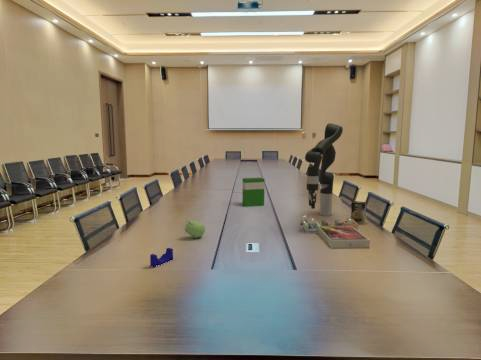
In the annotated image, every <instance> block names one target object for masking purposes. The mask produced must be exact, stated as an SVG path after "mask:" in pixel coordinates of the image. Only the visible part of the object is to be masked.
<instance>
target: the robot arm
mask: <svg viewBox="0 0 481 360" xmlns="http://www.w3.org/2000/svg"><path fill="white" fill-rule="evenodd" d="M343 130H344V129H343V127H342V126H341V125H338V124H335V123H331V122H330V123H329V122H328V123H327V124H326V126H325V129H324V138H323V139H321V140H320V141H319V142H317V144H316V145H315V146H314V147H312V148H311V149H309V150H308V151H307V152H306V154H305V157H304V159H305V161H306V162H307V163H310V164H313V165H311V166H308V167H307V173H306V174H307V176H306V190H307V191H308V194H307V198H308V206H309V207H310V209H312V210H314V209H315V208H316V203H317V193H316V191H318V190H319V184H320V185H327V186H325V187H322V188H321V189H320V194H319V215H320V216H323V217H324V216H325V217H329V216H332V215H333V214H332V213H333V192H334V191H333V190H334V186H333V185H334V173H333V172H330V171H329V172H326V171H327V170H328V169H329V168H330V167H331V166H332V165H333V163H334V162H335V160H336V159H335V158H336V155H337V154H336V149H335V147H334V143H335V142H337V140H339V139H340V137H341V136H342V134H343Z"/></svg>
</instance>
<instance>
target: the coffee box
mask: <svg viewBox="0 0 481 360" xmlns="http://www.w3.org/2000/svg"><path fill="white" fill-rule="evenodd" d="M350 210H351V212H350V218H353V219H354V221H355V222H356V223H357V224H358V225H365V224H366V214H367V201H361V200H360V201H358V200H357V201H356V200H353V201H351V209H350Z"/></svg>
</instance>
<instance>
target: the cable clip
mask: <svg viewBox="0 0 481 360" xmlns="http://www.w3.org/2000/svg"><path fill="white" fill-rule="evenodd" d="M165 250H166V251H165V253H163V254H162V255H161V256H160V257H159V258H158V255H157V254H155V253H151V254H149V259H150V260H149V261H150V262H149V263H150V267H151V266H153V267H152V268H154V267H156V265H157V266H158V265H160V266H162V265H164V264H163V263H165V262H167V263H169V262H171V261H170V260H172V261H173V260H174V251H173V250H174V249H173V248H171V247H166V249H165ZM168 261H169V262H168ZM161 264H162V265H161ZM165 264H166V263H165ZM158 267H159V266H158ZM156 268H157V267H156Z"/></svg>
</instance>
